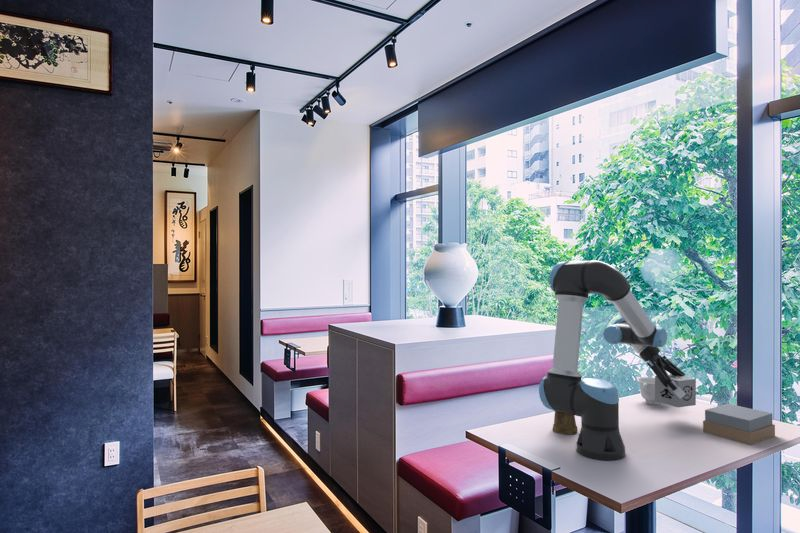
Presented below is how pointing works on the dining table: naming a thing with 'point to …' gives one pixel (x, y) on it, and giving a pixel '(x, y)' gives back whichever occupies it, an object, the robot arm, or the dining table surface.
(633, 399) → the dining table surface
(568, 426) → the wooden mug
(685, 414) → the dining table surface
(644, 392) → the teacup
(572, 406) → the robot arm
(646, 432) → the dining table surface
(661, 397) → the icon cube
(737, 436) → the tower base
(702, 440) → the dining table surface
